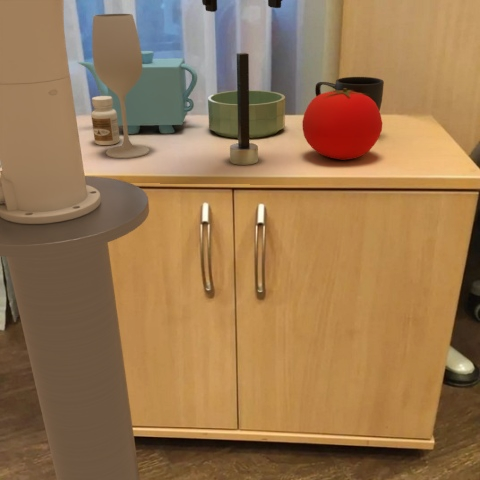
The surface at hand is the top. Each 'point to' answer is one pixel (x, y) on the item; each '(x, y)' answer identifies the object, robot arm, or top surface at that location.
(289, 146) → the top surface
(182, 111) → the teapot
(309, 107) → the tomato
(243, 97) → the square post on disc
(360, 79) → the mug
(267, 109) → the bowl
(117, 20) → the wineglass
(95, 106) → the pill bottle
